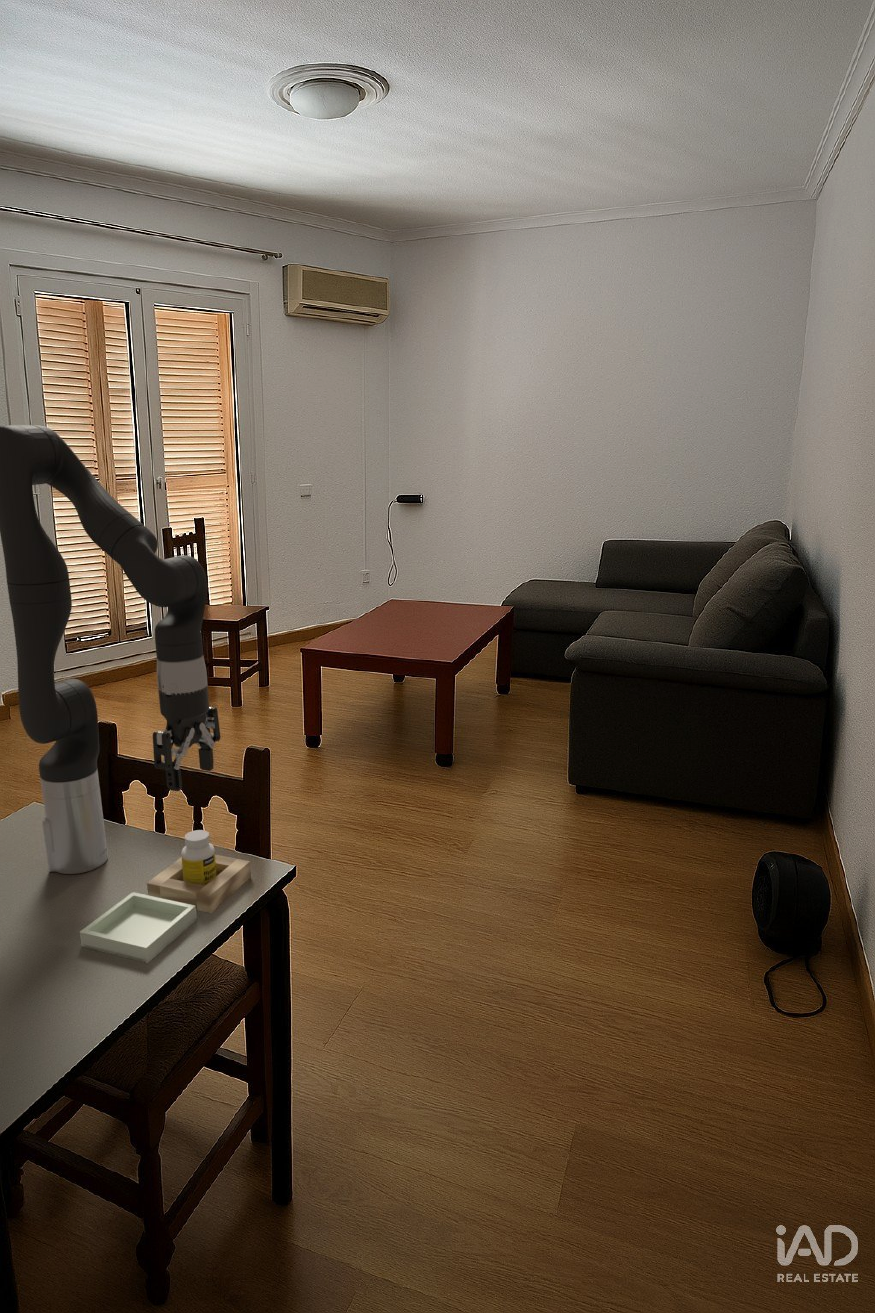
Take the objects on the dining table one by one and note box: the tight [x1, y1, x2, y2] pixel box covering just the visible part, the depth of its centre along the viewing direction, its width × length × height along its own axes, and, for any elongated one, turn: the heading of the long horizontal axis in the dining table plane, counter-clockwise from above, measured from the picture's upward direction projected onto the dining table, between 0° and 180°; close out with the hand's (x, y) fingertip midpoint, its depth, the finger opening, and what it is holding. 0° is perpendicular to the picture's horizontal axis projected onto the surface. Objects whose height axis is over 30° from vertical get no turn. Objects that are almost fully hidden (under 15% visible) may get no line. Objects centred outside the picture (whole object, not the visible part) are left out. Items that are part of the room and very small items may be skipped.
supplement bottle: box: [180, 829, 216, 886], centre depth 146 cm, size 5×5×10 cm
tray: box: [79, 891, 198, 964], centre depth 134 cm, size 12×12×2 cm
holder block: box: [146, 854, 252, 914], centre depth 147 cm, size 12×12×3 cm
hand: (191, 779), depth 142 cm, fingers open, 8 cm apart
